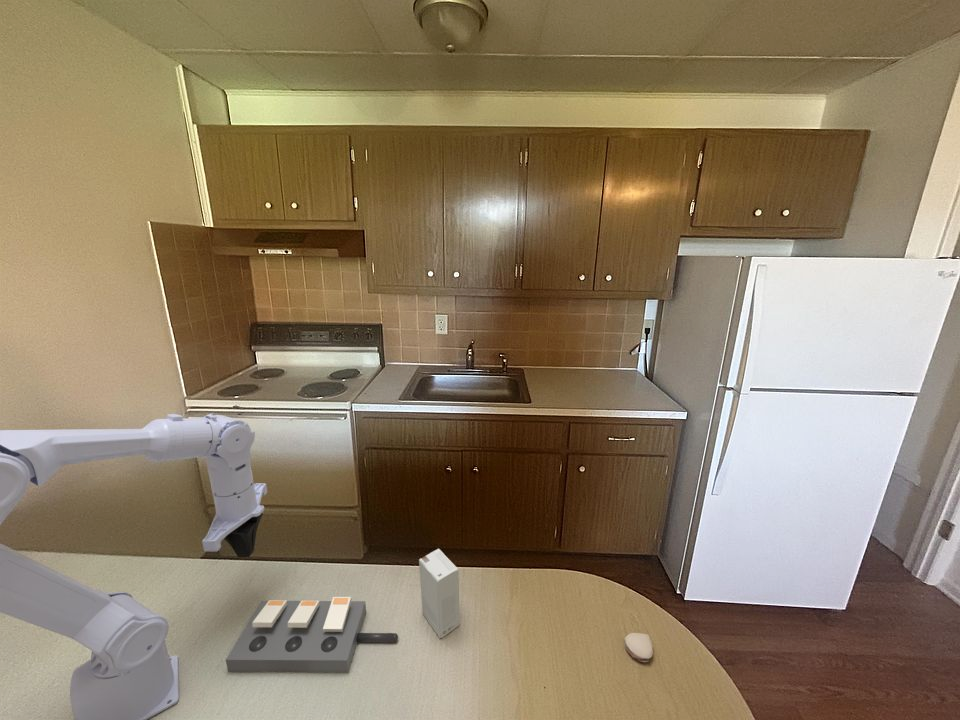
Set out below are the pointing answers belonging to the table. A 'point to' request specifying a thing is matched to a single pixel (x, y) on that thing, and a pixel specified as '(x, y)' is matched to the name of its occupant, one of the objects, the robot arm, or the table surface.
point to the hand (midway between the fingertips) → (245, 554)
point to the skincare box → (440, 592)
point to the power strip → (301, 642)
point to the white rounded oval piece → (639, 646)
